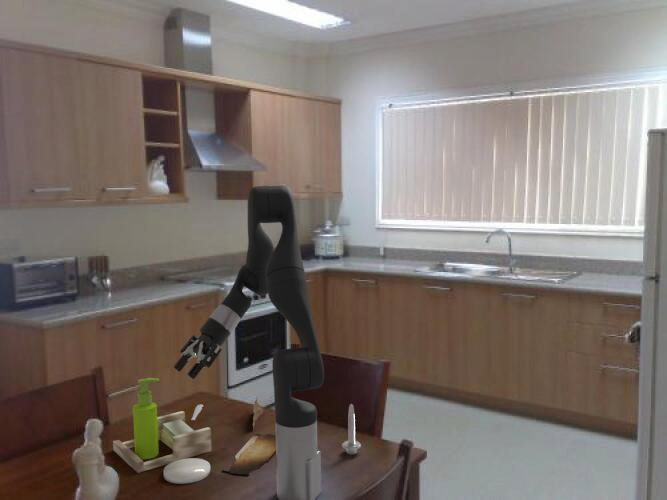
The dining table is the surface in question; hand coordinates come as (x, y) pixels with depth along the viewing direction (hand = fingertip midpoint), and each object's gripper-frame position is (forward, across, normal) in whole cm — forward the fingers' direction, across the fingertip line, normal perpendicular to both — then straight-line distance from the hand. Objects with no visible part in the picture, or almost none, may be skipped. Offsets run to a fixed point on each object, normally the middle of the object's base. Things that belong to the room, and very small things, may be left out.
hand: (183, 373), depth 164 cm
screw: (-8, +33, +36) cm, 49 cm away
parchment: (+6, +18, +22) cm, 29 cm away
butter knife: (+8, -14, +21) cm, 26 cm away
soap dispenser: (+21, 0, +7) cm, 22 cm away
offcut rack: (+19, 0, +9) cm, 21 cm away
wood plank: (-3, -2, +31) cm, 31 cm away
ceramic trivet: (+19, +16, +9) cm, 26 cm away
